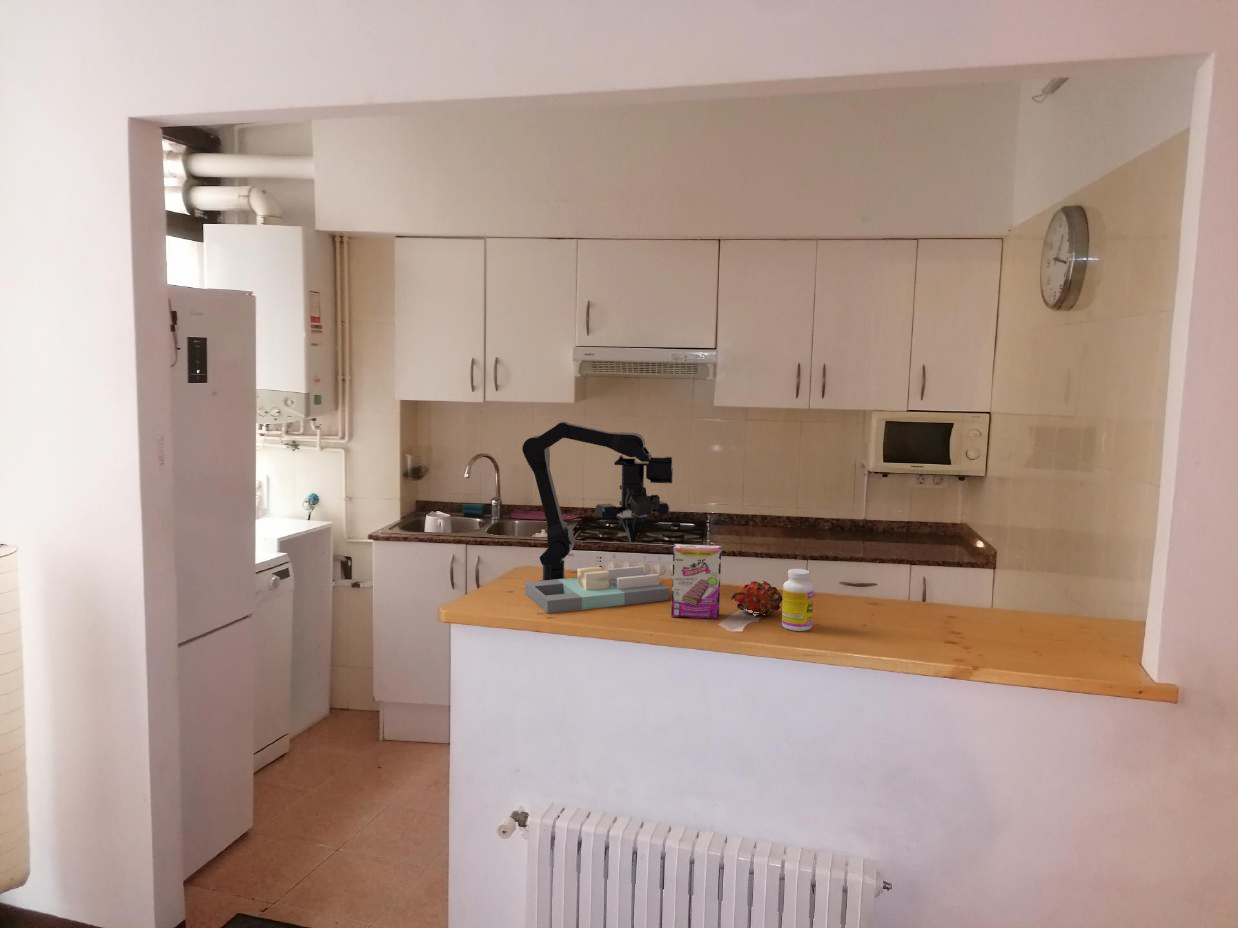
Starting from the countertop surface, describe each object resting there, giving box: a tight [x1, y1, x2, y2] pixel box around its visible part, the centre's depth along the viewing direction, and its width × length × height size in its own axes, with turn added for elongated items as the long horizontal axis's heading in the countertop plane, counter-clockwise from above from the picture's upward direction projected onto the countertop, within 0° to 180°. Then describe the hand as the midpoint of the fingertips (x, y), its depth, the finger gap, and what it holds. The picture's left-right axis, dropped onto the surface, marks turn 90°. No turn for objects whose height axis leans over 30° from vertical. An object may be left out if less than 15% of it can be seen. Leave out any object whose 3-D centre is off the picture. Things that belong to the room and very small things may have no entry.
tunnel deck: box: [524, 565, 670, 614], centre depth 216 cm, size 18×32×6 cm, turn 113°
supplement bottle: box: [781, 568, 814, 632], centre depth 193 cm, size 7×7×13 cm
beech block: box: [577, 566, 609, 590], centre depth 215 cm, size 6×6×4 cm
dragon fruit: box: [730, 580, 783, 616], centre depth 203 cm, size 8×8×12 cm
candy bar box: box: [670, 543, 722, 620], centre depth 201 cm, size 11×5×16 cm, turn 84°
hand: (632, 542), depth 224 cm, fingers closed
